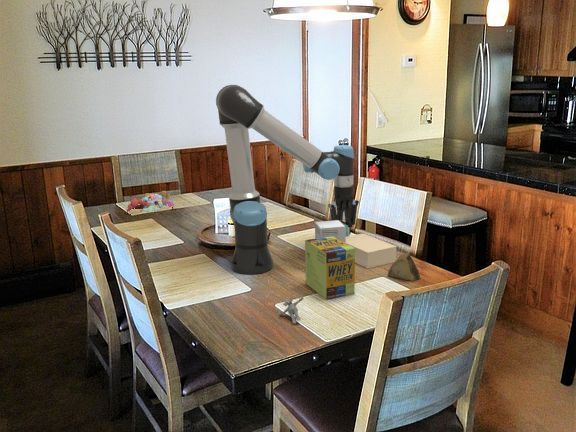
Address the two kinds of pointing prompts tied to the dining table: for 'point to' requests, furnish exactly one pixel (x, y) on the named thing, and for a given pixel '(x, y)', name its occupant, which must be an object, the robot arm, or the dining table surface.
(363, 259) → the sleeve
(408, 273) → the rock
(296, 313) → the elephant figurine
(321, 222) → the supplement box
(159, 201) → the candy landscape model
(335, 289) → the protein box
